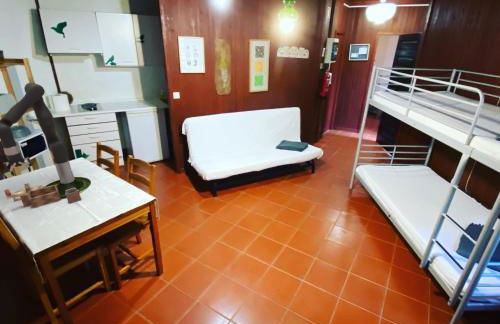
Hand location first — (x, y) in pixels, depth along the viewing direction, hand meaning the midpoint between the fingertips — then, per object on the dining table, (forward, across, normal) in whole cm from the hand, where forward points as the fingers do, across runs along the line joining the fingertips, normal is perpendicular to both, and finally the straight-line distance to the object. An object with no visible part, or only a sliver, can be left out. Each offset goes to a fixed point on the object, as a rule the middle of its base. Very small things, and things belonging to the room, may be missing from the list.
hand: (22, 173), depth 180 cm
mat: (+16, +1, 0) cm, 16 cm away
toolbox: (+17, -5, +17) cm, 24 cm away
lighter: (+17, -22, +30) cm, 41 cm away
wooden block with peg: (+8, +7, +17) cm, 20 cm away
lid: (+16, +1, 0) cm, 16 cm away
